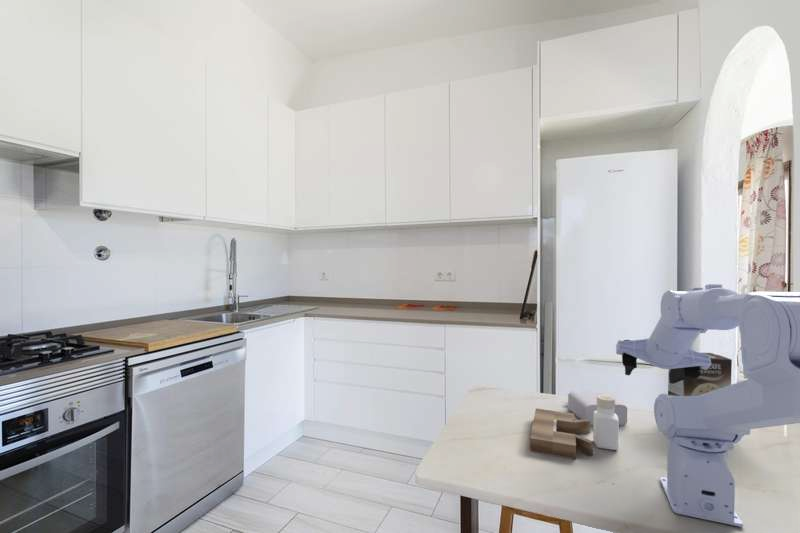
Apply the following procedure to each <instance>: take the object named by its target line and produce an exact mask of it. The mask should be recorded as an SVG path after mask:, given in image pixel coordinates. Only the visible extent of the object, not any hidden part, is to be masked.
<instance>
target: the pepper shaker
mask: <svg viewBox="0 0 800 533" xmlns="http://www.w3.org/2000/svg"><path fill="white" fill-rule="evenodd" d="M607 395H608V394H607ZM607 395H598V396H597V411H594V412H593V425H592V426H593V428H592V432H593V433H592V434H593V436H592V437H593V438H592V439H593V443H594V444H595V446H596V448H598V449H605V450H612V451H617V450H619V446H620V444H619V441H620V439H619V432H620V431H619V430H620V428H619V426H620V425H619V419H618V417H617V415H616V414H615V400H616V398H615V397H613V396H610V395H609V396H607Z"/></svg>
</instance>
